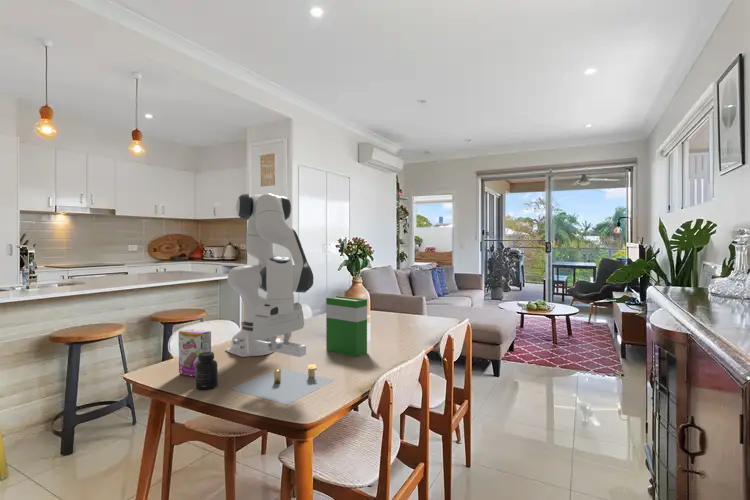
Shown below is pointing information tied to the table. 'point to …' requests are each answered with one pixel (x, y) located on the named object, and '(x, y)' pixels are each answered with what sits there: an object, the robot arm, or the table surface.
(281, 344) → the link
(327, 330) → the hardback book
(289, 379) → the board
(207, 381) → the supplement bottle
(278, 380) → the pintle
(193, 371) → the candy bar box
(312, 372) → the keeper
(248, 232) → the robot arm
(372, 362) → the table surface
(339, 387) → the table surface
